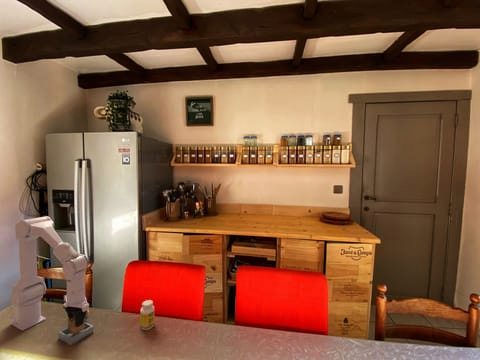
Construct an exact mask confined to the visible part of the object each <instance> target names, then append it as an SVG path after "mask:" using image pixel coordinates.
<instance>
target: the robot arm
mask: <svg viewBox="0 0 480 360" xmlns="http://www.w3.org/2000/svg"><path fill="white" fill-rule="evenodd" d="M14 226H15V228H14V229H15V230H14V231H15V240H17V241H18V255H19V277H20V278H19V279H18V281H17V282H16V283H15V284H13V285H12V287H11V294H10V302H11V304H12V305H14V306H13V321H11V322H10V325H12V326H14V327H15V328H17V329H18V330H19V331H20V330H21V331H25V330H26V329H29V328H31V327H32V326H35V325H37V324H39V323H42V322H43V321H45V320H46V317H44V316H43V315H42V303H41V302H42V301H41V299H43V298H44V297H43V296H44V295H45V294H46V291H47V286H46V283H45V277H41V276H38V262H37V261H38V259H37V258H38V257H37V242H36V240H37V239H38V238H39V237H40V238H41V239H43V241H45V242H46V243H47V244H49V246H51V247H52V249H53V251H52V254H53V255H54V256H55V258H56V259H58V261H59V262H60V263H61V265H62V267H61V268H62V272H63V273H64V279H65V280H66V294H65V295H63V301H64V304H63V305H62V308H63V310H65V312H66V314H67V318H68V319H70V318H72V317H74V320H75V325H76V327H79V326H80V325H82V324H83V322H84V318H85V315H86V312H87V311H88V310H89V311H90V303H88V301H87V296H86V269H87V268H88V267H89V265H90V264H89V262H90V261H89V259H88V257H87V256H86V255H85V254H81V253H78V252H77V250H75V248H73V246H72V245H71V243H69V242H64V241H63V240H62V238H61V237H60V235H59V234H58V233H57V231H56V230H55V229H54V221H53V220H52V218H51V217H49V215H48V216H47V215H45V216H41V217H33V218H29V219H27V218H26V219H20V220H18V222H17V223H16V224H15V225H14Z"/></svg>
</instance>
